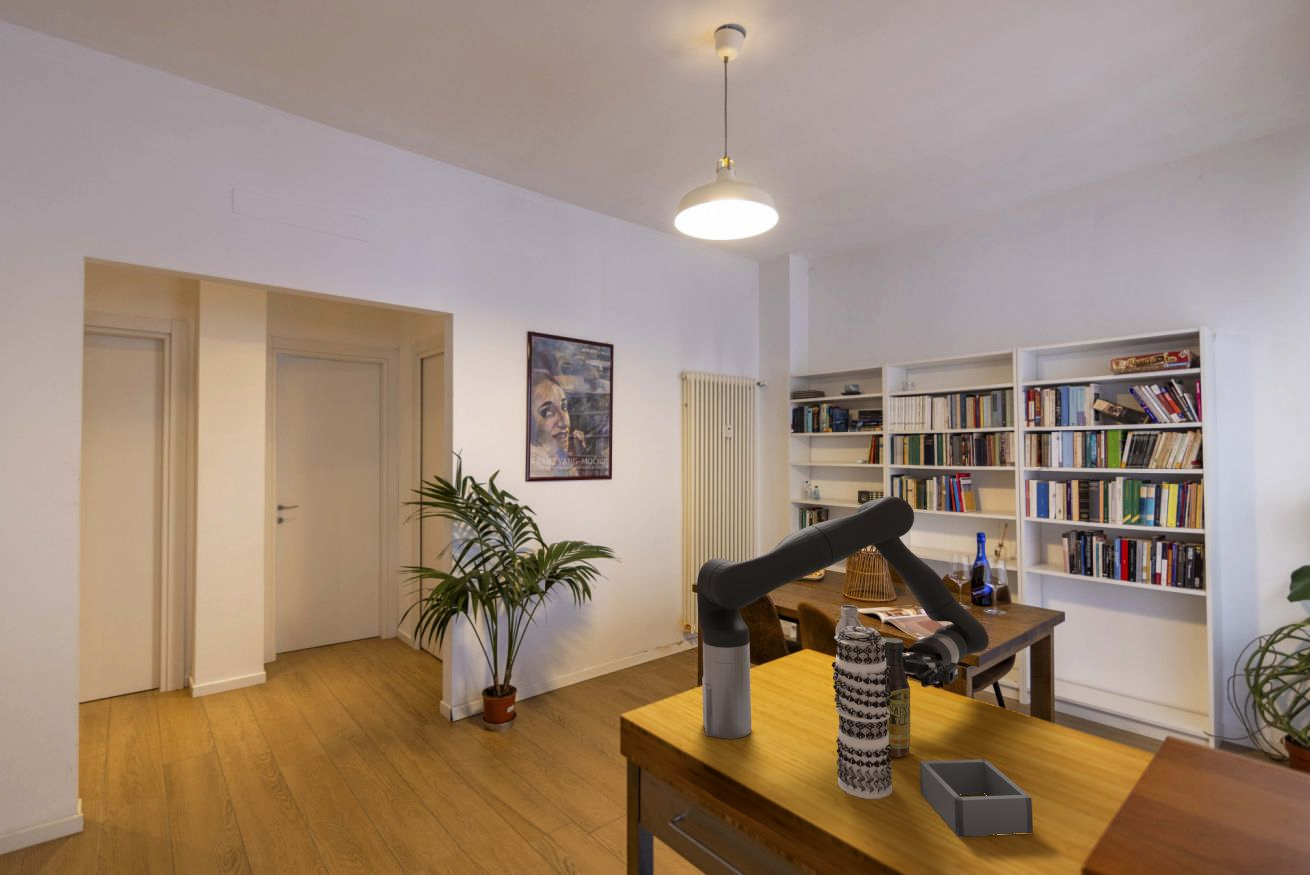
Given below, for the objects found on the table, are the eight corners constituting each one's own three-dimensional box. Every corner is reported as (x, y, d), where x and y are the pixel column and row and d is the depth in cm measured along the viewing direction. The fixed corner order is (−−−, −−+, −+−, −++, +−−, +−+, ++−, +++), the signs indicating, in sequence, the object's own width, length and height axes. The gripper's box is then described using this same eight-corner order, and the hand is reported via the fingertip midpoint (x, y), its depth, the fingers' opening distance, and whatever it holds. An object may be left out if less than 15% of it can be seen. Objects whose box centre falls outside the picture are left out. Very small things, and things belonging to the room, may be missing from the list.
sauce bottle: (893, 762, 110) (890, 646, 111) (865, 748, 115) (864, 638, 116) (919, 754, 113) (916, 641, 114) (891, 741, 118) (889, 633, 119)
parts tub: (958, 837, 88) (957, 800, 88) (920, 793, 100) (919, 761, 100) (1033, 834, 88) (1031, 797, 88) (986, 791, 100) (985, 759, 100)
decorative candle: (888, 806, 96) (883, 640, 97) (828, 790, 101) (823, 632, 102) (900, 780, 104) (895, 626, 105) (844, 767, 109) (839, 620, 110)
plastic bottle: (867, 693, 143) (864, 604, 144) (867, 704, 136) (864, 611, 137) (837, 690, 145) (835, 602, 146) (836, 701, 139) (833, 609, 140)
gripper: (898, 631, 134) (862, 648, 122) (969, 643, 124) (938, 663, 112) (899, 667, 134) (864, 687, 122) (971, 682, 124) (940, 706, 112)
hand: (900, 676), depth 117 cm, fingers open, 8 cm apart
